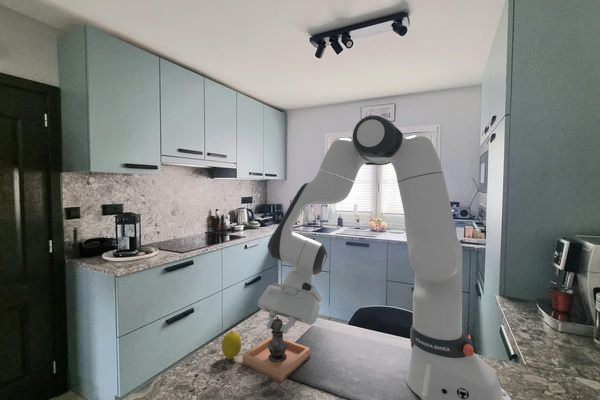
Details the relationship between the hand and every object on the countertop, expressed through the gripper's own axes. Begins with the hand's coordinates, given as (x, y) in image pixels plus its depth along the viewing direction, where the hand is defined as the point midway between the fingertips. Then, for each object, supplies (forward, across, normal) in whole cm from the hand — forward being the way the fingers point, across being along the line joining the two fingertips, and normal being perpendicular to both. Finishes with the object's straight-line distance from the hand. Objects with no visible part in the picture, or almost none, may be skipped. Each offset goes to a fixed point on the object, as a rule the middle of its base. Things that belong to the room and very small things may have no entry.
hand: (276, 330), depth 78 cm
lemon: (+11, -12, +2) cm, 16 cm away
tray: (+6, 0, +7) cm, 9 cm away
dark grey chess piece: (+5, 0, +6) cm, 8 cm away
